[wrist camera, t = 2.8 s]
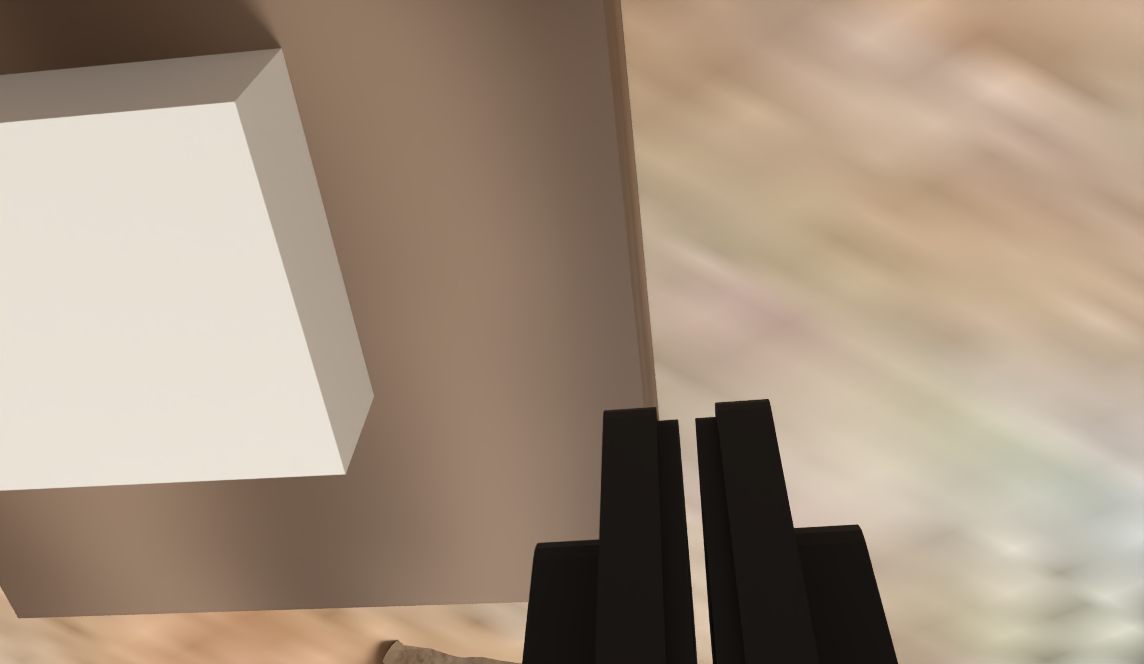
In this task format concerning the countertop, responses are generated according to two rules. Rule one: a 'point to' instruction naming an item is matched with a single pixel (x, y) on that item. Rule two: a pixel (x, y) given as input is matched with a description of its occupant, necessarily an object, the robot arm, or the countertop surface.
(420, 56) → the brown flat block
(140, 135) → the tile
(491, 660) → the clay tablet
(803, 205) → the countertop surface
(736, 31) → the countertop surface
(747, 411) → the robot arm
